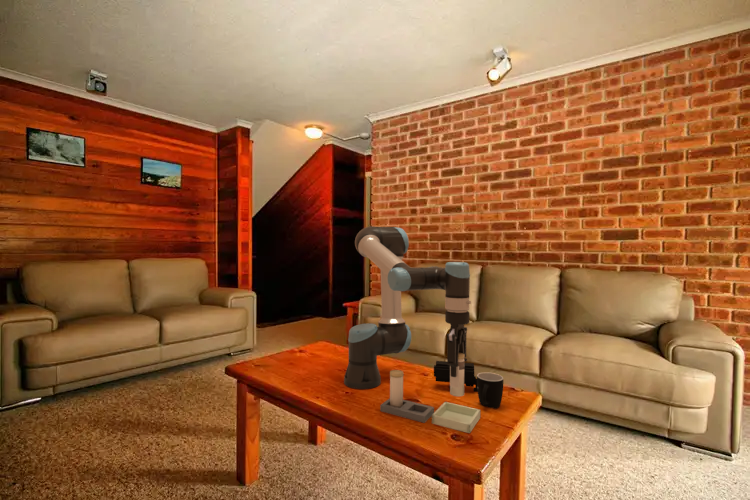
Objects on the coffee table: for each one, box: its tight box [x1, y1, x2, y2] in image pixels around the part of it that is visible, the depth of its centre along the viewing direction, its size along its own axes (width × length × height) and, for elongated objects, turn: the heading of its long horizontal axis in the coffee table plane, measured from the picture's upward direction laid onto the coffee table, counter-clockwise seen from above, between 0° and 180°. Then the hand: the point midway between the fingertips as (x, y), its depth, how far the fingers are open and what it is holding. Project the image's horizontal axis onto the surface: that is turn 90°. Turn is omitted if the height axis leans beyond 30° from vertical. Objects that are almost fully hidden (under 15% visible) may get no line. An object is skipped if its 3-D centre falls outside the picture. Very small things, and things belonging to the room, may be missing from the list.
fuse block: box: [379, 369, 435, 424], centre depth 121 cm, size 16×8×13 cm, turn 59°
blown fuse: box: [449, 352, 465, 397], centre depth 115 cm, size 5×5×13 cm
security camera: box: [433, 360, 478, 393], centre depth 143 cm, size 7×18×10 cm, turn 78°
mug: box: [476, 371, 504, 410], centre depth 127 cm, size 12×9×10 cm
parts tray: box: [431, 401, 481, 434], centre depth 116 cm, size 12×12×3 cm
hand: (457, 383), depth 115 cm, fingers closed on blown fuse, 4 cm apart
